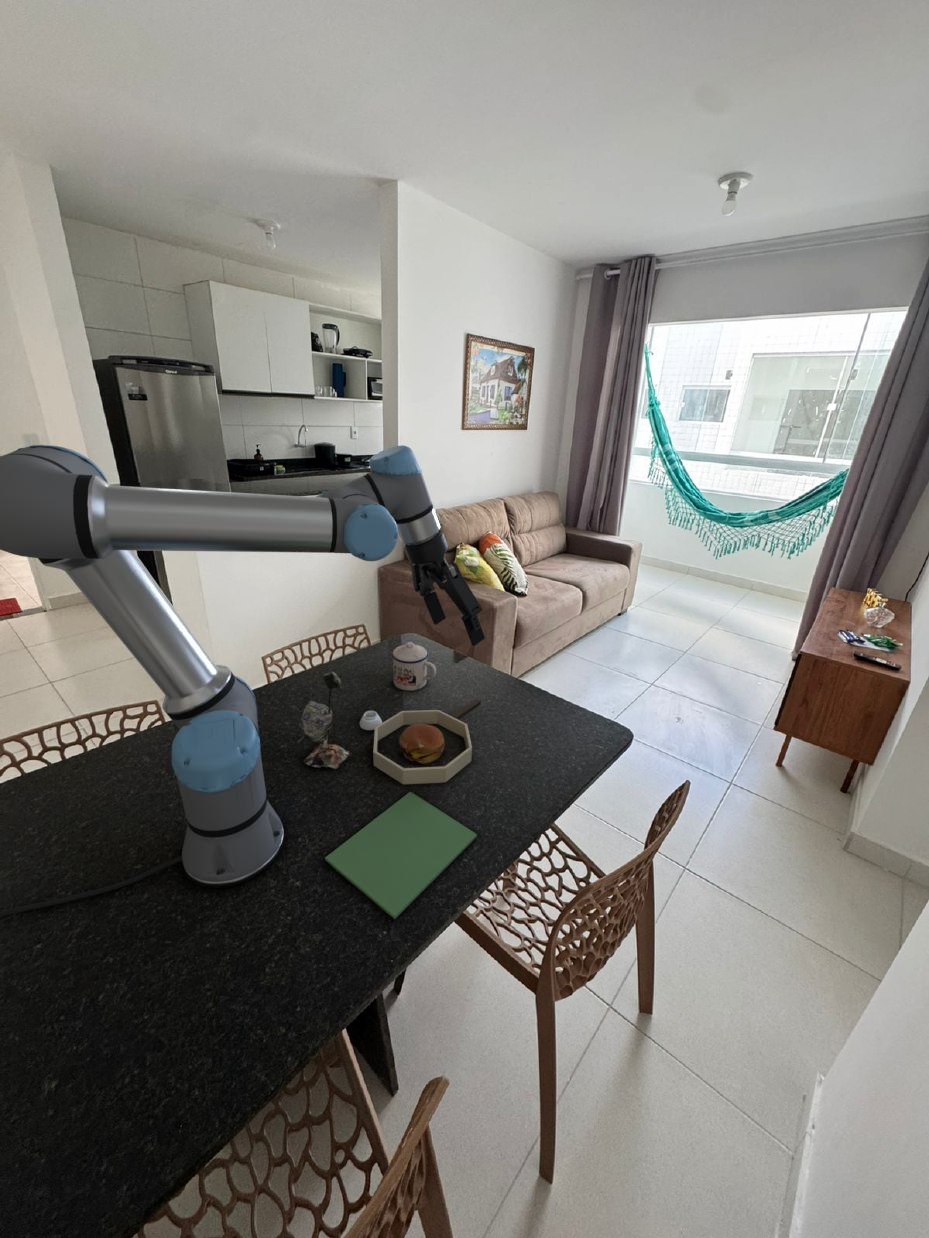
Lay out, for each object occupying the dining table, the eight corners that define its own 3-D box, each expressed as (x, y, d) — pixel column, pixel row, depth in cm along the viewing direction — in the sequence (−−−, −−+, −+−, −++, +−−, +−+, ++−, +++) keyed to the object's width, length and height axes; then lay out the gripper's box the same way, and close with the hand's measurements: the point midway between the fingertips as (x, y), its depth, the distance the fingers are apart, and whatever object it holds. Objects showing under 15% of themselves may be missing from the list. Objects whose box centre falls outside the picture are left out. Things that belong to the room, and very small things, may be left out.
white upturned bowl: (357, 731, 115) (380, 732, 115) (357, 720, 114) (379, 721, 114) (362, 718, 119) (383, 719, 120) (361, 707, 118) (383, 708, 118)
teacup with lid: (386, 686, 133) (385, 646, 128) (403, 671, 140) (403, 632, 136) (427, 697, 129) (428, 657, 124) (442, 681, 136) (444, 642, 132)
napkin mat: (394, 919, 74) (394, 916, 74) (324, 860, 83) (324, 857, 83) (477, 836, 89) (477, 834, 89) (410, 793, 98) (410, 791, 98)
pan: (425, 798, 97) (425, 784, 95) (354, 753, 108) (353, 739, 106) (512, 727, 119) (513, 715, 117) (446, 696, 130) (446, 684, 128)
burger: (434, 732, 116) (435, 715, 114) (451, 757, 108) (451, 740, 106) (392, 743, 112) (392, 725, 110) (406, 769, 104) (406, 751, 102)
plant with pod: (318, 737, 112) (311, 657, 104) (357, 756, 107) (353, 673, 99) (289, 757, 106) (279, 673, 98) (329, 778, 101) (322, 691, 93)
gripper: (479, 537, 82) (512, 640, 93) (404, 517, 101) (439, 604, 112) (443, 559, 79) (481, 663, 90) (373, 534, 99) (412, 622, 110)
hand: (458, 630), depth 101 cm, fingers open, 13 cm apart
